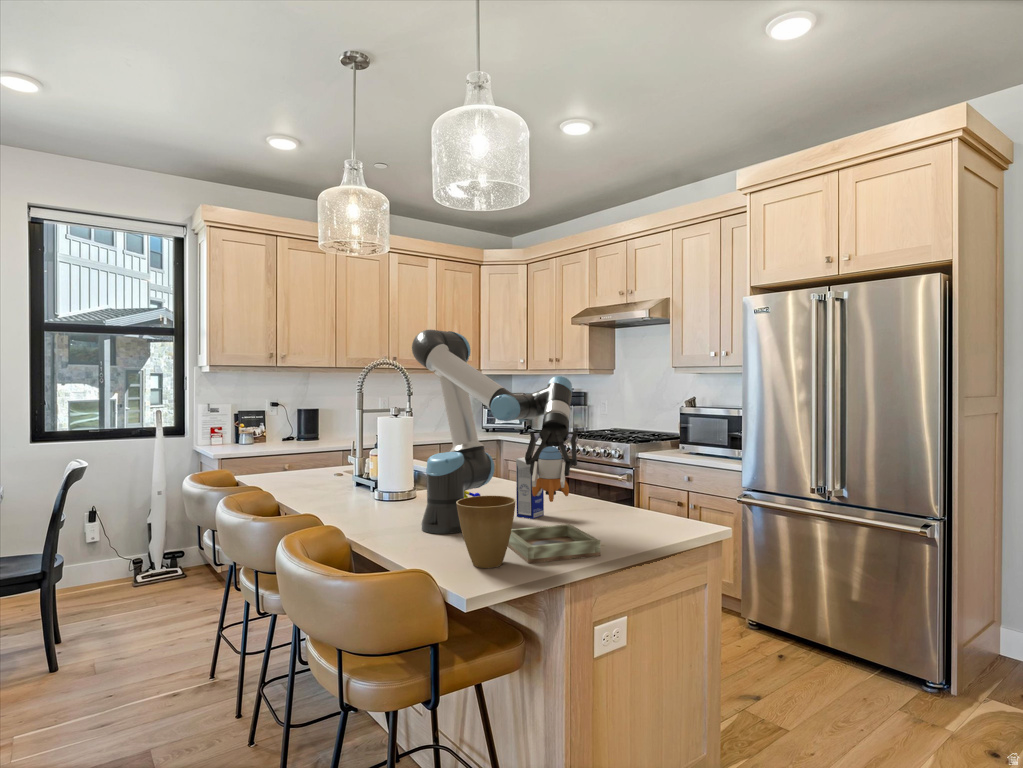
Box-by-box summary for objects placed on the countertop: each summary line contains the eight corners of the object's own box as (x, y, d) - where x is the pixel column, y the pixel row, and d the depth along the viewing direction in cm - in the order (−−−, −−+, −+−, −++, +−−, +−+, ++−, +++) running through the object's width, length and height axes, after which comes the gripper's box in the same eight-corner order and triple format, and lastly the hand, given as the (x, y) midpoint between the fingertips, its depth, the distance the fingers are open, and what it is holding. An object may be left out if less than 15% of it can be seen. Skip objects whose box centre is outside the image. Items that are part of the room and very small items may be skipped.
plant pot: (489, 552, 162) (488, 492, 162) (528, 564, 151) (527, 500, 151) (444, 564, 152) (444, 500, 152) (483, 577, 141) (482, 508, 141)
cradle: (528, 563, 152) (527, 547, 152) (504, 543, 171) (504, 529, 171) (600, 555, 158) (600, 540, 158) (569, 537, 177) (569, 524, 177)
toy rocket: (567, 497, 171) (575, 447, 168) (567, 512, 160) (575, 458, 157) (531, 492, 171) (538, 441, 169) (529, 506, 161) (536, 452, 158)
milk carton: (527, 513, 212) (527, 456, 212) (544, 515, 208) (543, 457, 208) (516, 516, 206) (515, 458, 206) (532, 519, 202) (532, 459, 202)
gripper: (590, 428, 177) (586, 493, 162) (524, 427, 182) (513, 491, 166) (589, 411, 172) (584, 476, 156) (520, 411, 176) (509, 474, 161)
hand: (548, 484), depth 161 cm, fingers closed on toy rocket, 7 cm apart
